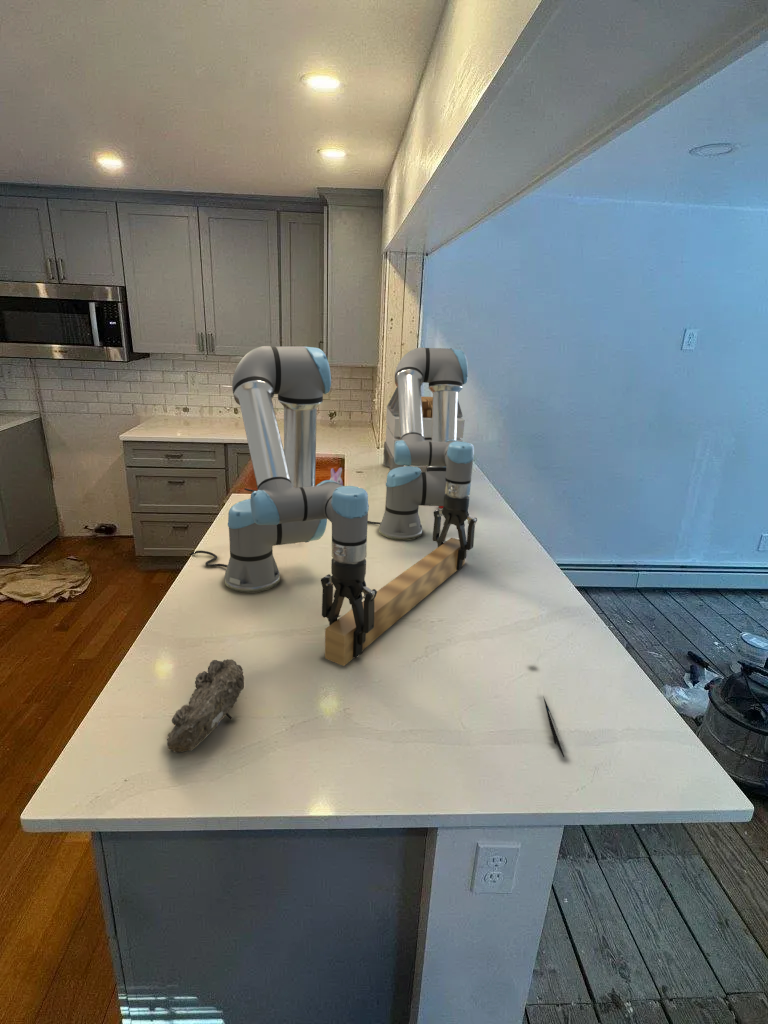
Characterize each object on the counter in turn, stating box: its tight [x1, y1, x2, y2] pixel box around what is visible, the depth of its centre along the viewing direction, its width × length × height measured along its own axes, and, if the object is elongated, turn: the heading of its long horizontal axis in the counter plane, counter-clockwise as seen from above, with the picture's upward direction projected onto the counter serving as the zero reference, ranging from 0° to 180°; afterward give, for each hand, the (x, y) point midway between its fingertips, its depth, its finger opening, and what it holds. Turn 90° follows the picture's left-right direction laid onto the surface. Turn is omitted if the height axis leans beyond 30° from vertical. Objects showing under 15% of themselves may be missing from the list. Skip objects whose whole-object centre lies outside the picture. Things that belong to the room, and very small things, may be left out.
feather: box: [533, 666, 565, 758], centre depth 114 cm, size 2×28×2 cm
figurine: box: [329, 467, 344, 486], centre depth 223 cm, size 9×10×15 cm
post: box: [324, 537, 466, 667], centre depth 152 cm, size 66×5×8 cm, turn 149°
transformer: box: [383, 386, 465, 471], centre depth 268 cm, size 34×33×41 cm
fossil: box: [166, 658, 245, 754], centre depth 106 cm, size 22×10×15 cm
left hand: (346, 650), depth 130 cm, fingers closed on post, 5 cm apart
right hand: (450, 565), depth 176 cm, fingers closed on post, 5 cm apart
